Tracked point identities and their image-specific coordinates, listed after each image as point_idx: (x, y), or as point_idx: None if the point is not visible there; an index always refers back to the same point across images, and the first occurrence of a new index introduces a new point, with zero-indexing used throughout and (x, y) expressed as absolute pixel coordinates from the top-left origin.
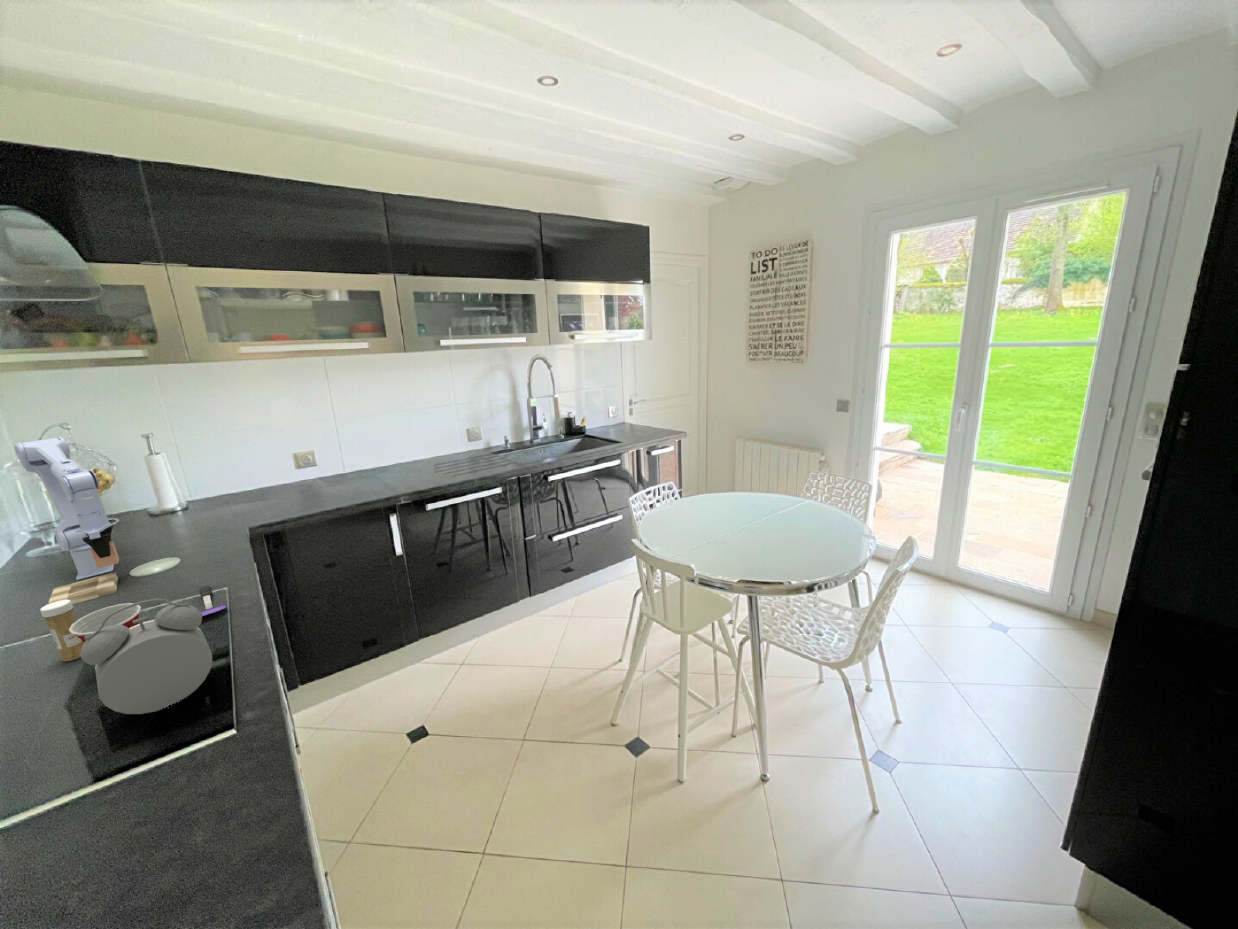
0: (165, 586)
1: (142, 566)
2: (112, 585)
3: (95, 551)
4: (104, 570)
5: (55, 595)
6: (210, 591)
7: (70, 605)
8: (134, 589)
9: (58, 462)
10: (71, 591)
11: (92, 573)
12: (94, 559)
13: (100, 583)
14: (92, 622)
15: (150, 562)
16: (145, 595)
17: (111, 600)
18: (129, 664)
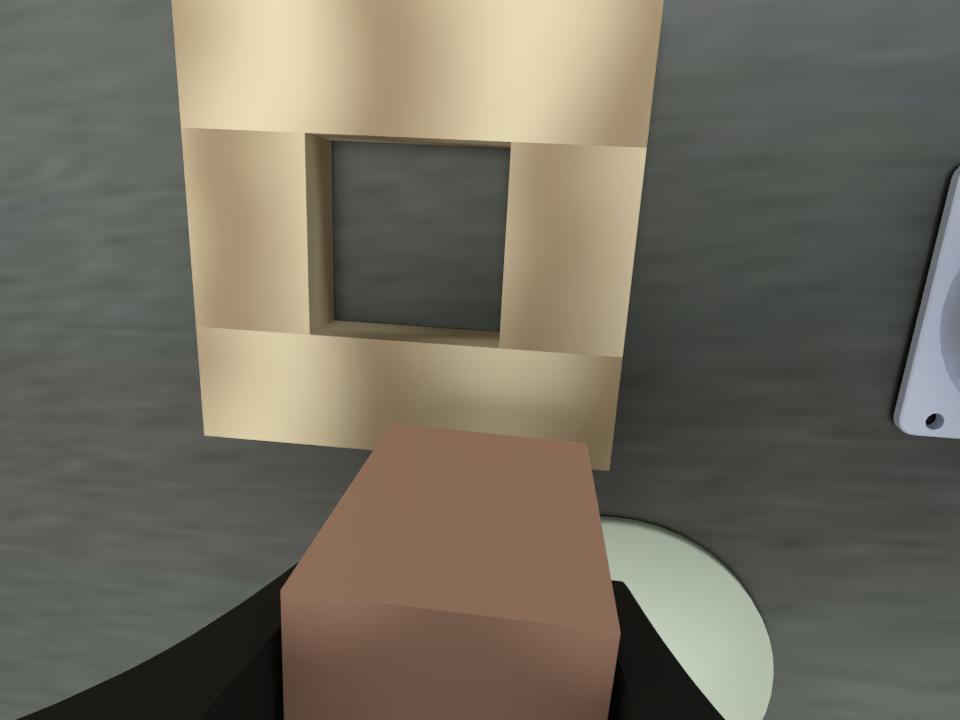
0: (82, 640)
1: (696, 610)
2: (212, 429)
3: (234, 612)
4: (954, 379)
5: (366, 28)
6: None
7: None
8: (192, 504)
9: None
10: (477, 143)
11: (954, 293)
12: (354, 485)
13: (368, 358)
14: None
15: (748, 663)
16: (4, 540)
17: (80, 377)
18: None
